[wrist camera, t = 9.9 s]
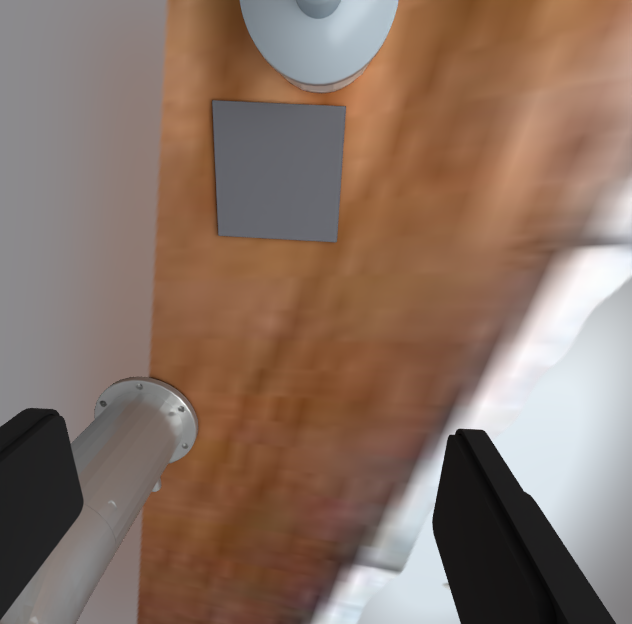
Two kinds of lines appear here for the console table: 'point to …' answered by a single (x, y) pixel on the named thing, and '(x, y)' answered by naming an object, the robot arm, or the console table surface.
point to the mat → (278, 169)
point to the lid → (318, 36)
